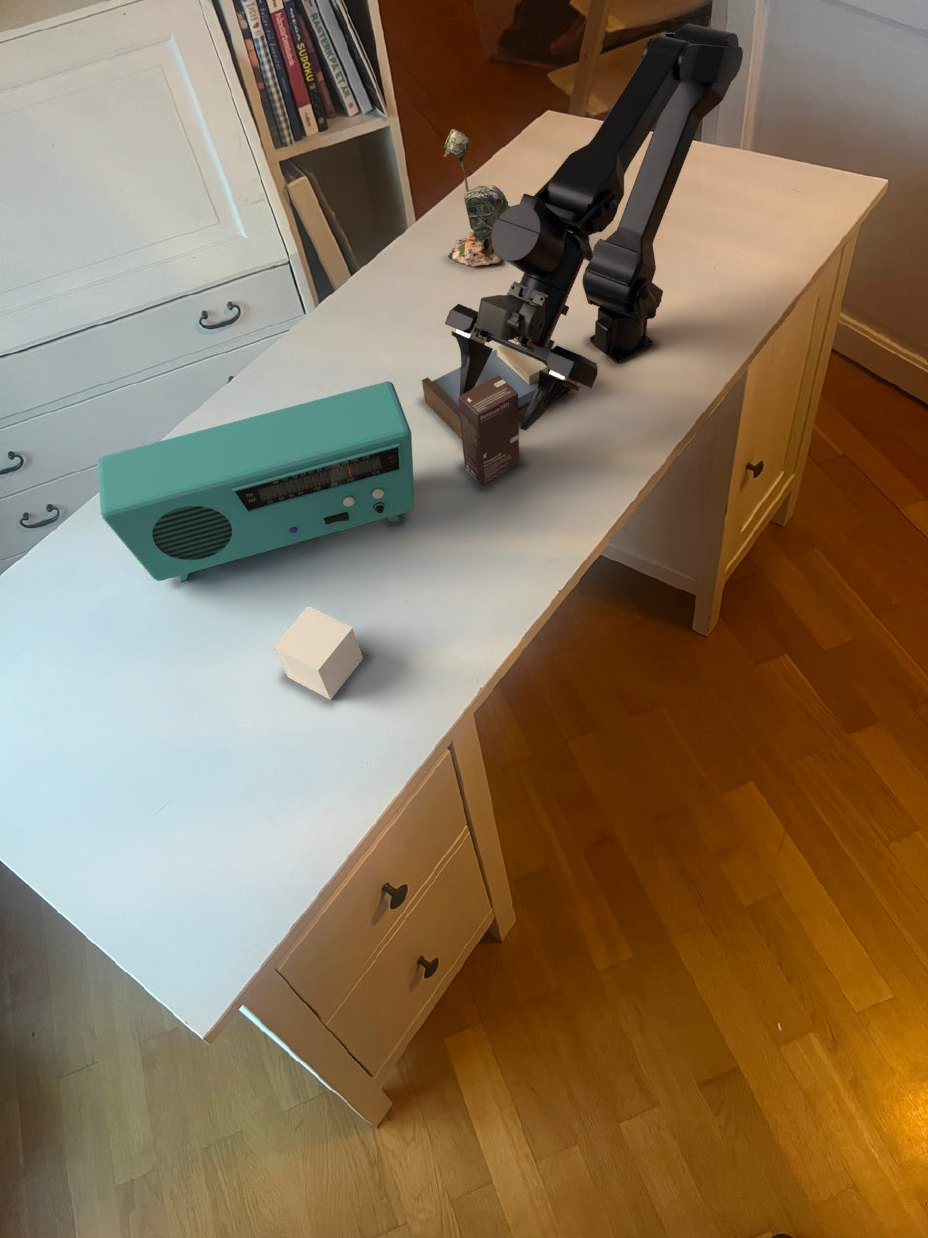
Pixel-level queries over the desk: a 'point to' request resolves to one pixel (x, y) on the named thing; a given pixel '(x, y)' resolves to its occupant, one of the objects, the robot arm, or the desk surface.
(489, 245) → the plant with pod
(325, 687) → the cream cube
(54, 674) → the desk surface
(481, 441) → the box
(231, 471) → the radio
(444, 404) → the bed
